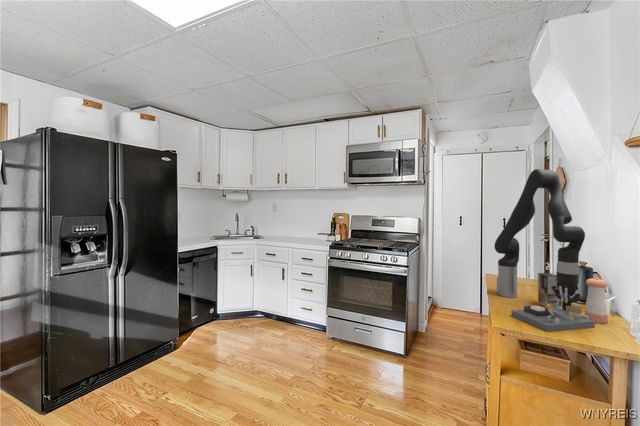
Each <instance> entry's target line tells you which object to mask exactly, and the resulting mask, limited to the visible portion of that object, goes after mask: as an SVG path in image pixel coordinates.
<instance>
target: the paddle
mask: <svg viewBox="0 0 640 426" xmlns="http://www.w3.org/2000/svg"><path fill="white" fill-rule="evenodd" d="M581 314H582V306H581V305H577V304H576V305H575V304H574V305H571V306H566V316H569V317H572V318H574V319H575V318H581Z"/></svg>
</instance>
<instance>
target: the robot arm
mask: <svg viewBox="0 0 640 426" xmlns="http://www.w3.org/2000/svg"><path fill="white" fill-rule="evenodd" d="M538 189H545V190H547V191H548V193H549V194H550V195H549V197H550V198H549V201H548V202H547V203H548V204H547V211H548V215H549V217H550V218H551V221H552V235H553V238H554V239H555V240H556V241H557V242H559V243H568V244H567V246H564V247H560V248H558V250H557V261H556V262H557V263H556V274H555V275H556V280H557V283H556V285H555V286H551V288H552V290H553V291H554V293H555V295H556V296H557V298H558V299H561V308H563V310H565V311H566V306H572V304H574V303H577V302H578V301H579V300H581V299H582V298H583V297H584V296H585V294H584V293H583V292H580V291H579V287H578V285H579V282H580V280H579V278H580V264H579V258H580V257H579V256H580V251H581V250H582V247H583V244H584V242H585V239H586V238H585V237H586V232H585V229H583V227H580V226H577V225H576V226H573V225H572V226H571V225H570V226H569V224H570V223H571V222H572V221H573V218H572V215H571V212H570V210H569V208H568V206H567V203H566V201H565V198H564V193H563V188H562V183H561V179H560V176H559V174H558V173H557V171H555V170H552V169H543V168H542V169H541V168H538V169H537V168H535V169H534V170H532V171H531V172H530V173H529V175H528V178H527V180H526V183H525V185H524V187H523V190H522V191H521V192H522V193H521V195H520V197H519V199H518V201H517V203H516V204H515V207H514V209H513V210H512V212H511V214H510V217H509V219H508V221H507V222H506V224H505V226H504V227H503V229H502V231H501V232H500V233H499V235H498V236H497V238H496V240H495V242H494V250H495V252H496V253H498V254H501V255H502V254H503V255H504V256H503V257H501V258H499V259H498V261H497V277H496V294H497V295H499V296H500V297H504V298H518V263H519V261H520V242H519V241H518V239H517V238H515V236H516V235H517V234H518V233H519V232H521V231H522V230H524V228H526V227H527V226H528V225H529V224H530V223H531V221H532V220H533V217H534V215H535V214H536V207H535V201H534V197H535V194H536V192H537V190H538ZM567 224H568V226H567Z"/></svg>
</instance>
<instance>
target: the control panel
mask: <svg viewBox="0 0 640 426" xmlns="http://www.w3.org/2000/svg"><path fill="white" fill-rule="evenodd" d="M531 306H532V305H524V306H523V309H514V310H511V317H513V318H515V319H517V320H520V321H522V322H525V323H527V324H528V325H529V324H530V325H531V326H533V327H535V328H537V329H541V330H543V331H545V332H548V333H550V332H560V331H570V330H579V329H580V330H581V329H591V328H592V329H593V328H595V325H596V324H595V323H596V322H595V321H592V320H589V317H588V316H585V314H582V313H581V318H575V319H574V318H572V317H569V316H566V311H565V310H563V308H562V306H561V307H557V308H554V307H552V308H551V309H552V311H553V314H554V316H555V318H554V319H552V318H551V315H550V313H549V310H548V309H547V308H546V307H544V308H545V311H536V310H533V309H531ZM534 306H538V305H534Z"/></svg>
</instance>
